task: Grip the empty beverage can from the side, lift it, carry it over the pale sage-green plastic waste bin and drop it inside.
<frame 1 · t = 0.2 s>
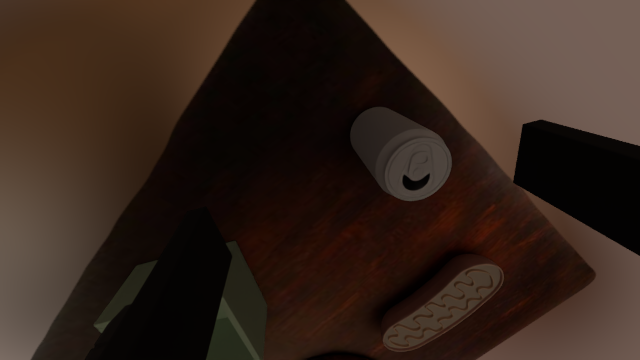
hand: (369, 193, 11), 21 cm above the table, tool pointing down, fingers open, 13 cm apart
waste bin: (207, 286, 39), on the table
beverage can: (373, 131, 31), on the table
anatomical model: (426, 286, 45), on the table
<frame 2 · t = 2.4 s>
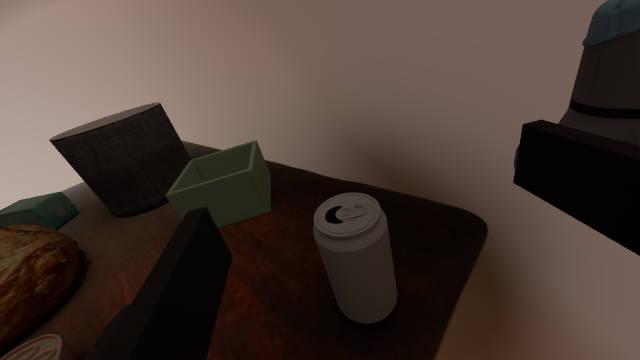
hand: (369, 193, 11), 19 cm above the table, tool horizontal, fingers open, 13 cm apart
waste bin: (236, 202, 52), on the table
beverage can: (367, 298, 27), on the table
box: (49, 226, 66), on the table
bread: (4, 312, 40), on the table
planter: (158, 191, 68), on the table
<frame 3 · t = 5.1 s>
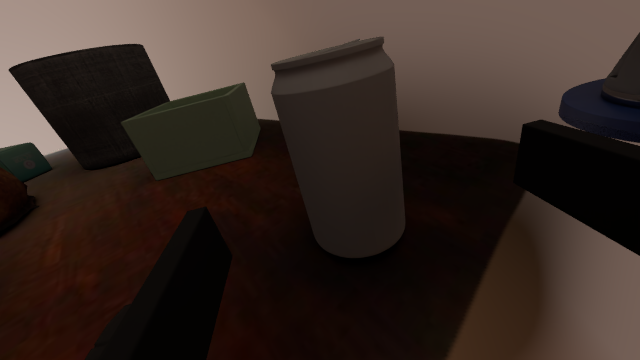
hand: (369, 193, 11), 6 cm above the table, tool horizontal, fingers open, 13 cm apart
waste bin: (216, 151, 44), on the table
beverage can: (360, 233, 18), on the table
box: (18, 180, 60), on the table
planter: (139, 148, 60), on the table
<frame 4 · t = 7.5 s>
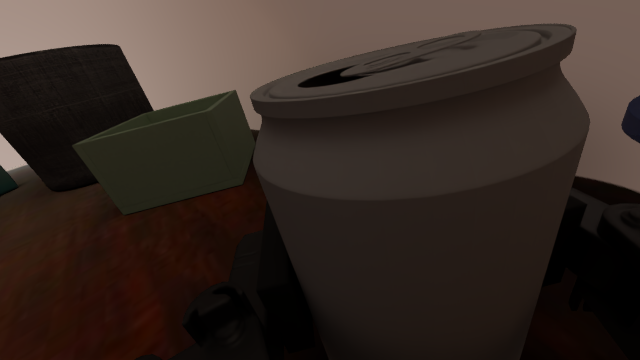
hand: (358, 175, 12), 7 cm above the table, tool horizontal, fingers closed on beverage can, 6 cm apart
waste bin: (201, 173, 36), on the table
planter: (117, 163, 53), on the table
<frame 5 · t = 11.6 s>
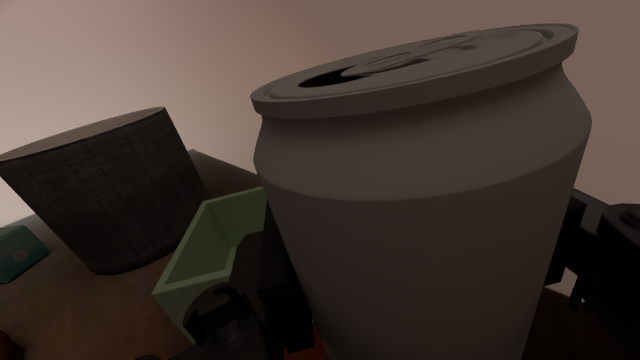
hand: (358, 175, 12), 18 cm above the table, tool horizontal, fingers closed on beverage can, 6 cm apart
waste bin: (273, 276, 31), on the table
box: (7, 270, 48), on the table
planter: (157, 229, 48), on the table
when the fingers open (14 cm above the table, at t = 15.8 s): beverage can drops 6 cm, resting on waste bin.
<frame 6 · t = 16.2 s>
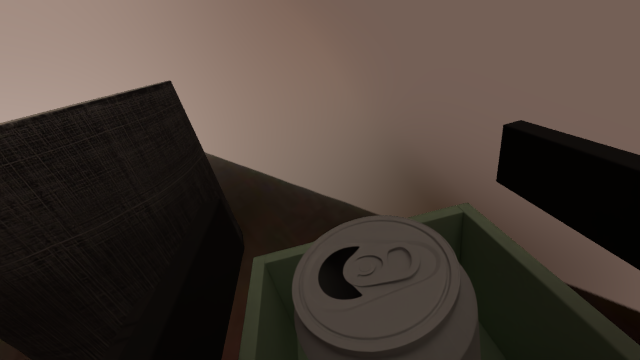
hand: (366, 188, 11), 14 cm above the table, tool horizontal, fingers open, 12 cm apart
planter: (157, 275, 31), on the table
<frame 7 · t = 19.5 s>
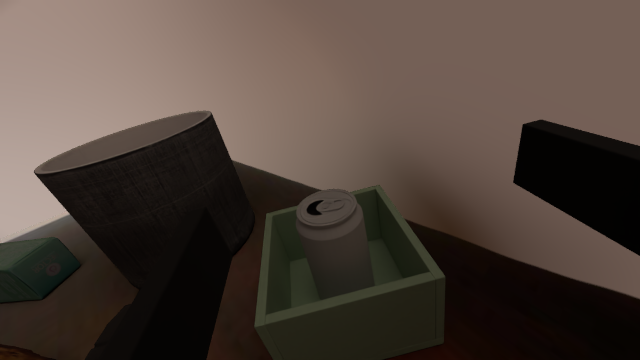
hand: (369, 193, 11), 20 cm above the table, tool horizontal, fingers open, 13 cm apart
waste bin: (348, 295, 29), on the table
beverage can: (347, 291, 29), point 1 cm above the table, touching waste bin
box: (36, 285, 45), on the table
planter: (197, 240, 46), on the table
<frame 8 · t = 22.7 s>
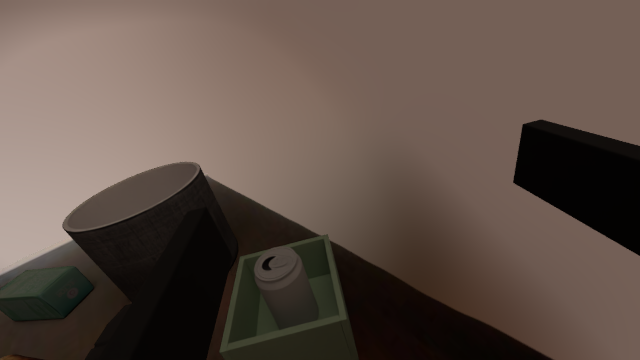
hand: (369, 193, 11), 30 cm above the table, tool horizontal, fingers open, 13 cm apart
waste bin: (300, 321, 38), on the table
beverage can: (299, 318, 38), point 1 cm above the table, touching waste bin
box: (57, 304, 54), on the table
planter: (190, 267, 55), on the table
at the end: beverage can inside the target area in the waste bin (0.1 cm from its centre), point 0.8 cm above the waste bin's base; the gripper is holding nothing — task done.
